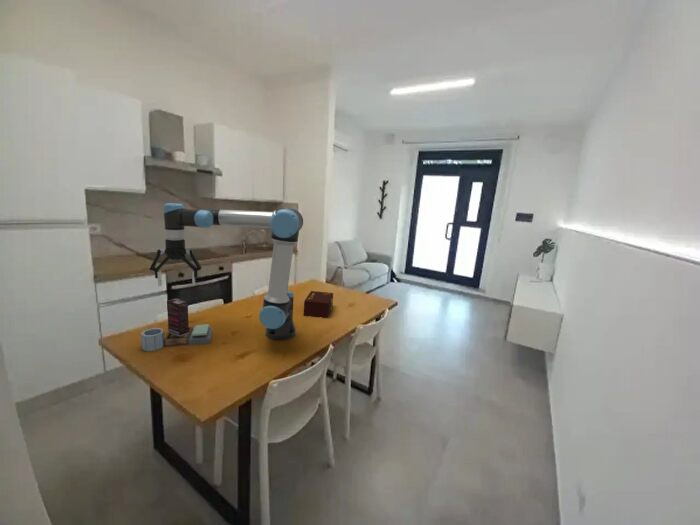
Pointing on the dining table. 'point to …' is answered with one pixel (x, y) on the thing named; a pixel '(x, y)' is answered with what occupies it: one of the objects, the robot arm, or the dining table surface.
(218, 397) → the dining table surface
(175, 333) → the supplement box
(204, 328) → the mint green block
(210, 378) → the dining table surface
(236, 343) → the dining table surface
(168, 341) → the brown wooden tray
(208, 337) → the blue-grey rectangular tray
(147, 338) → the cup
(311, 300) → the box
